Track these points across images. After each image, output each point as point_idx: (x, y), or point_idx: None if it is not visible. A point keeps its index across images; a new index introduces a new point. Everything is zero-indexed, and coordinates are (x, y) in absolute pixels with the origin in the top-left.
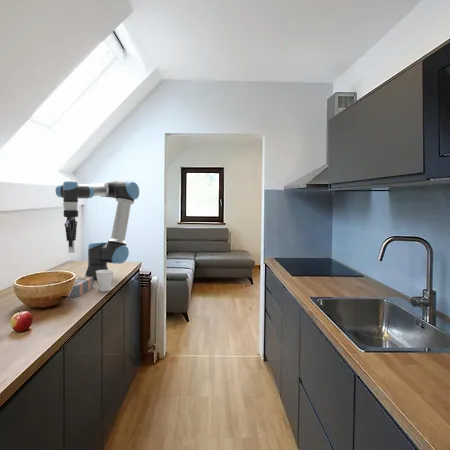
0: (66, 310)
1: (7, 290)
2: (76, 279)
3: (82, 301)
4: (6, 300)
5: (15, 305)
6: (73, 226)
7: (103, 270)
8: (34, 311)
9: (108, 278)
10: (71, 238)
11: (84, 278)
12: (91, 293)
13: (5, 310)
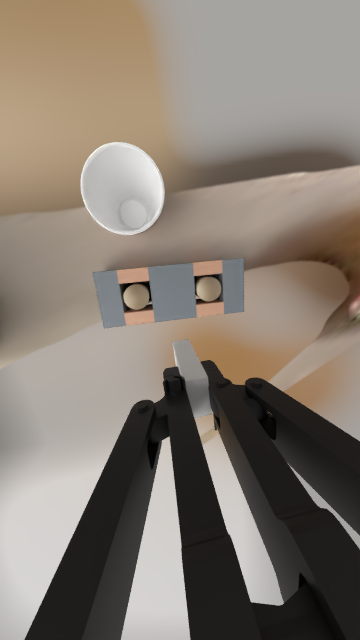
0: (349, 223)
1: None
2: (153, 307)
3: (268, 223)
4: None
5: (315, 350)
6: (337, 567)
7: (92, 213)
8: (356, 288)
9: (146, 173)
10: (260, 387)
11: (134, 287)
12: (180, 239)
13: (349, 345)
